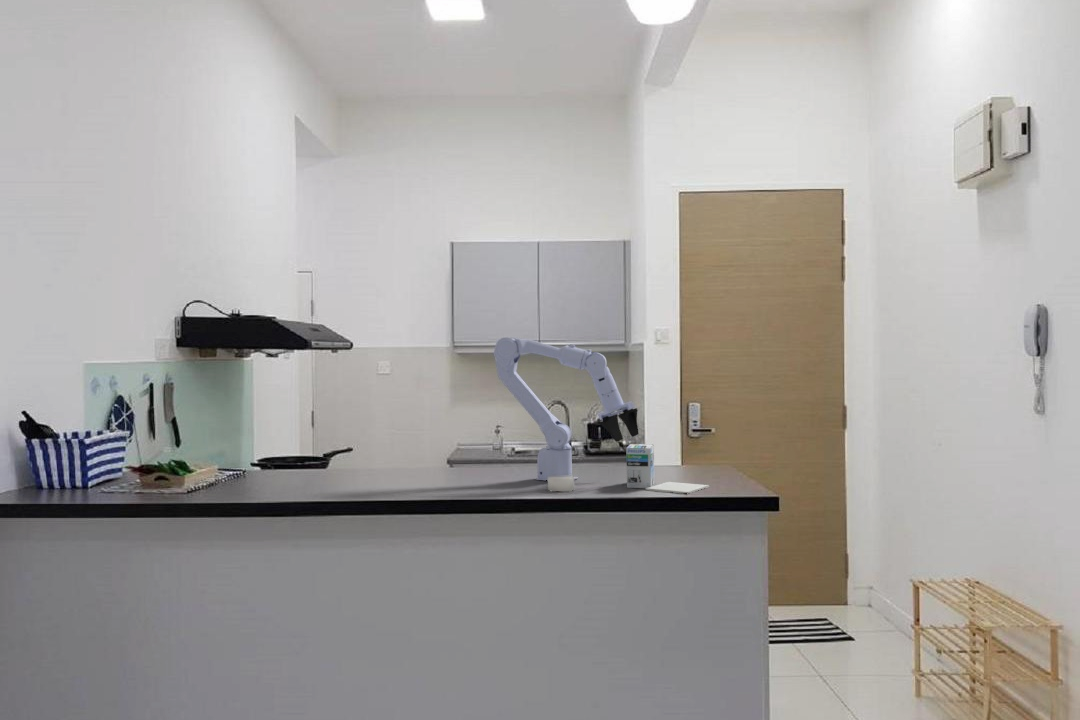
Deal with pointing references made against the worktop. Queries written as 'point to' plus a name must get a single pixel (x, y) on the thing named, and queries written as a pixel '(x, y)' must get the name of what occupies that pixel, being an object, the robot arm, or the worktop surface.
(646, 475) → the light bulb box
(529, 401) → the robot arm
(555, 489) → the pale rounded bar
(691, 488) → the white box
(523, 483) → the worktop surface
